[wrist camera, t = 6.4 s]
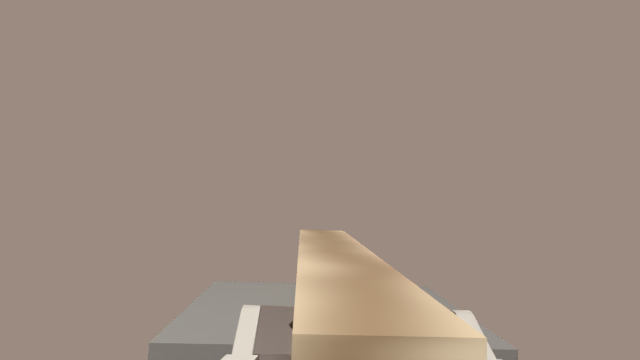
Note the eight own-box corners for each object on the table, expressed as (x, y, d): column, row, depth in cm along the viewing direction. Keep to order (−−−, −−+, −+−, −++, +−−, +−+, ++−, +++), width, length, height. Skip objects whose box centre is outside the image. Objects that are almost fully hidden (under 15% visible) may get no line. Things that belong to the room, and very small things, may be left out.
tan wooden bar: (283, 543, 6) (292, 333, 6) (298, 273, 29) (300, 229, 29) (484, 543, 6) (486, 338, 7) (341, 274, 29) (343, 230, 29)
